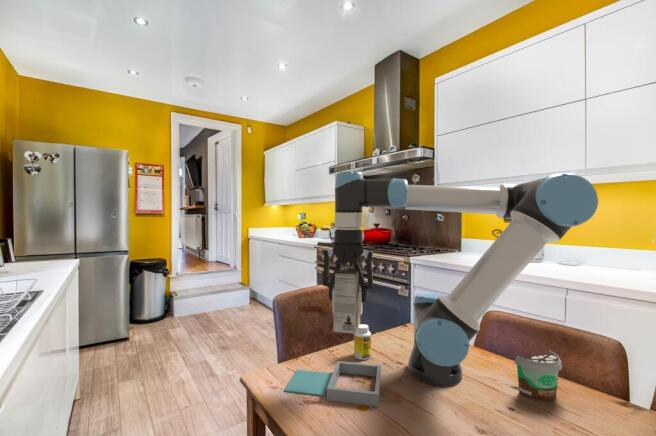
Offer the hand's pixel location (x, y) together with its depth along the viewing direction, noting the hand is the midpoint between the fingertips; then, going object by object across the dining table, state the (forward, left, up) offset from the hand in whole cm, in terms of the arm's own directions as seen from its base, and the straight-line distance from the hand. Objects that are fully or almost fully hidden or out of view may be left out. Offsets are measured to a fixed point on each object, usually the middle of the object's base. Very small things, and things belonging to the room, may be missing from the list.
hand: (347, 312), depth 83 cm
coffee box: (0, 0, -4) cm, 4 cm away
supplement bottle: (-2, -19, -21) cm, 28 cm away
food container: (-50, -5, -21) cm, 55 cm away
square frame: (-2, 0, -20) cm, 20 cm away
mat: (+11, 0, -20) cm, 23 cm away
